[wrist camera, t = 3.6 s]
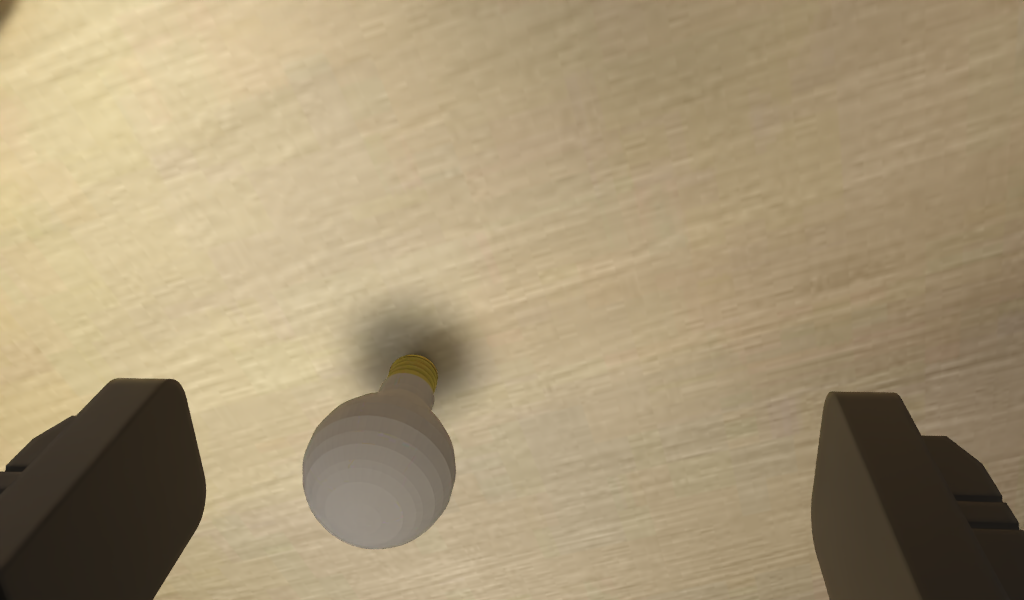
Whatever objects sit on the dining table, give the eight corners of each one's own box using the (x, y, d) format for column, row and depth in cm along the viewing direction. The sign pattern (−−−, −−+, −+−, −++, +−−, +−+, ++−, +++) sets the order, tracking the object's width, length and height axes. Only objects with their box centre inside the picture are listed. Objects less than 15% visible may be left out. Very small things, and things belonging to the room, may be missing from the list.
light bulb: (503, 390, 39) (472, 550, 30) (400, 437, 41) (342, 602, 32) (435, 290, 37) (381, 430, 28) (331, 344, 39) (249, 492, 30)
